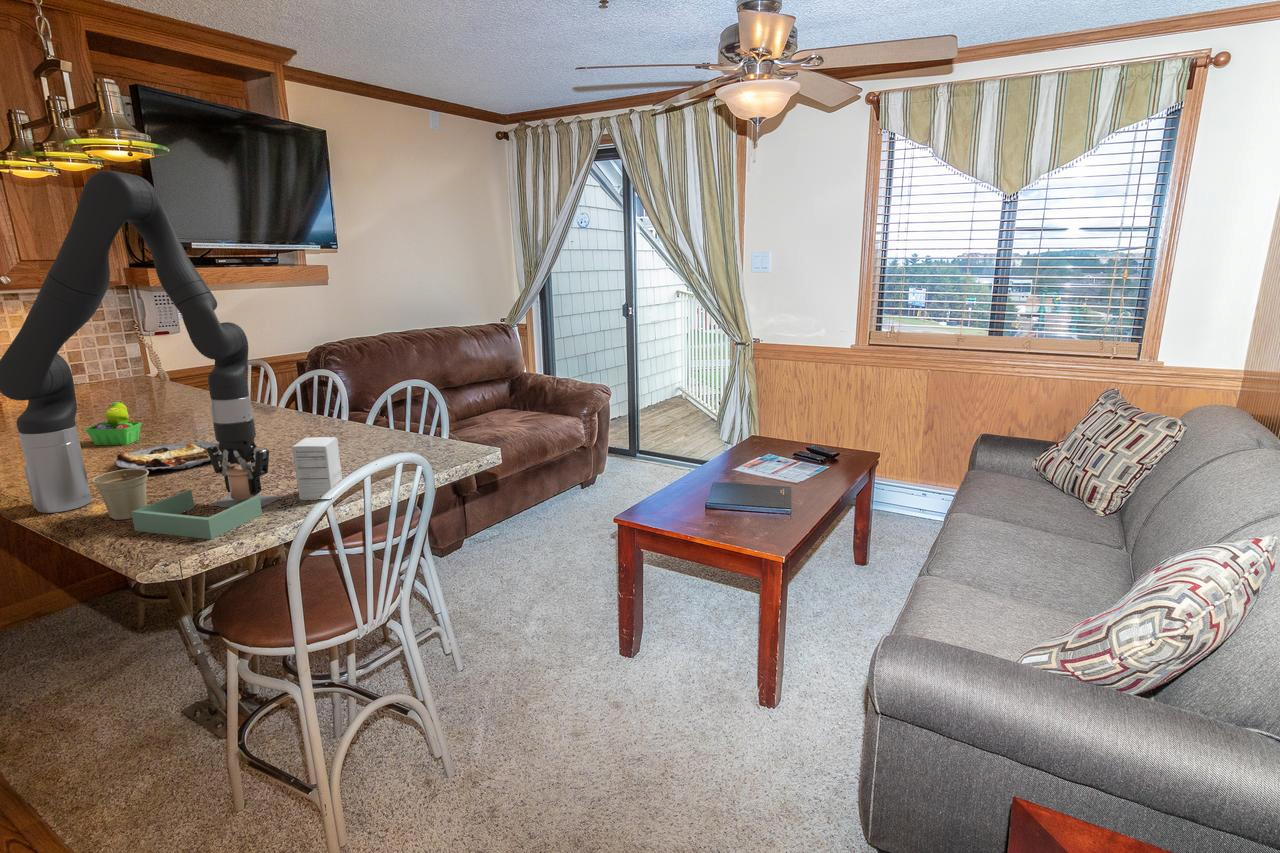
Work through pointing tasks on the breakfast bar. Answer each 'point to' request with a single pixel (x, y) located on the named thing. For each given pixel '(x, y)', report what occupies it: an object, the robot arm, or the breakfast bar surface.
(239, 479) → the tan round knob
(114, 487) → the flower pot
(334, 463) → the supplement box
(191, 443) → the food plate
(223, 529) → the green u-shaped frame
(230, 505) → the slate mat
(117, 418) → the fruit basket
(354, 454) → the breakfast bar surface
